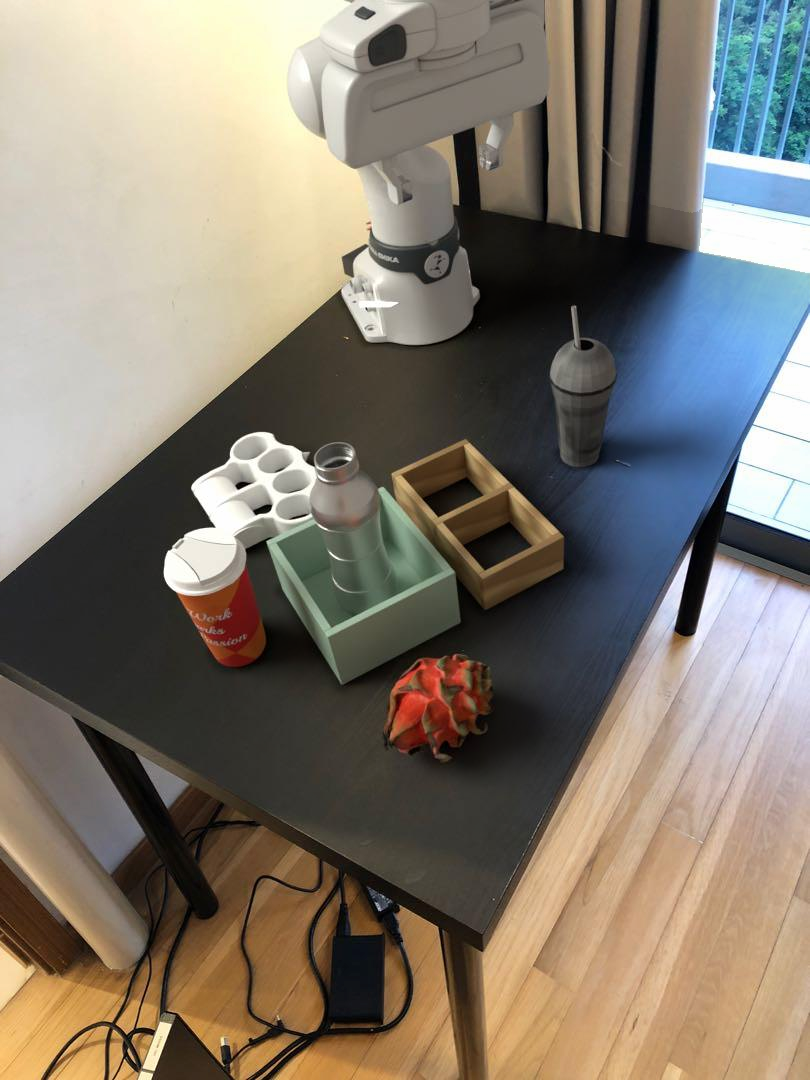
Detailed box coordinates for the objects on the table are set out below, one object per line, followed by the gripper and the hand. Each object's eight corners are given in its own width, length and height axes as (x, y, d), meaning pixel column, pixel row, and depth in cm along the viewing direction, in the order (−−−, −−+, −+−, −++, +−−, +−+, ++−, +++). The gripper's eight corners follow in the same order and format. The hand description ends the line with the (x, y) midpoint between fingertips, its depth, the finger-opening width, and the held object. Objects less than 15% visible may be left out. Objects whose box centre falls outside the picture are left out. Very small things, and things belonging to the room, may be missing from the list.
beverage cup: (610, 477, 100) (621, 327, 86) (545, 474, 102) (546, 327, 87) (612, 435, 105) (623, 287, 90) (550, 433, 106) (552, 287, 92)
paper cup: (187, 657, 89) (142, 567, 79) (236, 605, 93) (198, 513, 83) (244, 688, 86) (204, 598, 76) (292, 633, 90) (260, 540, 80)
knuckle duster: (186, 485, 108) (292, 436, 112) (243, 574, 96) (358, 517, 100) (178, 465, 105) (286, 416, 109) (235, 554, 94) (354, 496, 98)
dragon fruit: (504, 702, 83) (404, 781, 81) (451, 629, 84) (350, 706, 81) (529, 704, 75) (418, 793, 72) (470, 624, 75) (358, 709, 73)
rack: (396, 505, 101) (391, 473, 97) (468, 470, 104) (465, 438, 100) (484, 610, 89) (482, 579, 85) (563, 569, 92) (564, 536, 88)
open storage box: (282, 589, 94) (265, 540, 89) (392, 536, 98) (383, 486, 92) (342, 685, 85) (327, 637, 79) (461, 622, 88) (455, 572, 83)
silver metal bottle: (411, 604, 90) (386, 459, 75) (354, 634, 88) (316, 492, 73) (381, 565, 94) (351, 421, 79) (325, 594, 92) (284, 451, 77)
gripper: (521, -32, 73) (523, 137, 83) (299, 35, 67) (331, 207, 77) (566, -18, 69) (563, 158, 79) (335, 55, 63) (363, 234, 73)
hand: (447, 183), depth 78 cm, fingers open, 8 cm apart
